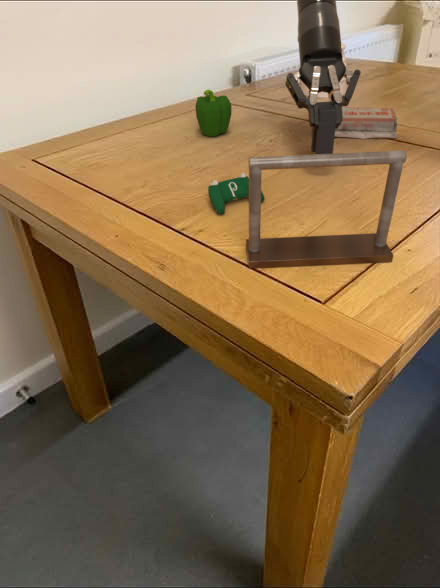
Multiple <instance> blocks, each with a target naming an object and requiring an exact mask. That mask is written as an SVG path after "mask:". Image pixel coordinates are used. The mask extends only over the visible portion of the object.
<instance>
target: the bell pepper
mask: <svg viewBox="0 0 440 588" xmlns="http://www.w3.org/2000/svg"><path fill="white" fill-rule="evenodd" d="M203 95H204V96H198V97H197V98H196V102H195V105H194V107H195V115H196V116H195V117H196V120H197V124H198V127H199V130H200V131H201V133H202V135H203V136H207V137H212V138H213V137H216V136H220V135H222V134H226V133H227V131H228V129H229V126H230V123H231V118H232V104H231V101H230V99H229V98H228V96H227V95H219V96H216V95H214V91H213V90H212V89H205V90H204V91H203Z"/></svg>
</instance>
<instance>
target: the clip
mask: <svg viewBox="0 0 440 588" xmlns="http://www.w3.org/2000/svg"><path fill="white" fill-rule="evenodd" d="M316 105H318V116H319V127H318V129H317V130H313V128H312V130H311V131H312V132H311V142H310V153H312V154H334V143H335V137H334V136H335V127H336V117H337V109H336V108H335V107H334V105H333V104H332V103H331V101H317V102H316Z"/></svg>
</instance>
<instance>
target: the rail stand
mask: <svg viewBox="0 0 440 588" xmlns="http://www.w3.org/2000/svg"><path fill="white" fill-rule="evenodd" d="M406 162H407V151H406V150H403V149H401V150H382V151H381V150H380V151H359V152H336V153H334V152H333V154H315V153H312V154H295V155H293V154H292V155H291V154H290V155H272V156H271V155H269V156H250V157H248V178H249V198H248V238H245V250H246V257H247V264H248V269H251V270H252V269H268V268H269V269H270V268H271V269H272V268H292V267H295V268H296V267H314V266H336V265H338V266H339V265H359V264H361V265H362V264H382V263H392V262H393V259H394V252H392V250H391V248H390V247H389V245H388V243H387V241H388V237H389V232H390V227H391V222H392V219H393V213H394V208H395V204H396V199H397V195H398V191H399V185H400V181H401V176H402V171H403V167H404V164H405V163H406ZM377 165H378V166H381V165H389V166H388V170H387V176H386V182H385V186H384V190H383V191H384V192H383V197H382V200H381V201H382V202H381V207H380V212H379V216H378V222H377V228H376V232H375V233H353V234H352V233H350V234H331V235H309V236H288V237H265V238H264V237H263V238H262V237H261V221H262V219H261V217H262V216H261V215H262V203H261V191H262V172H263V171H268V170H269V171H271V170H272V171H273V170H293V169H311V168H333V167H334V168H335V167H336V168H337V167H356V166H360V167H361V166H377Z"/></svg>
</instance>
